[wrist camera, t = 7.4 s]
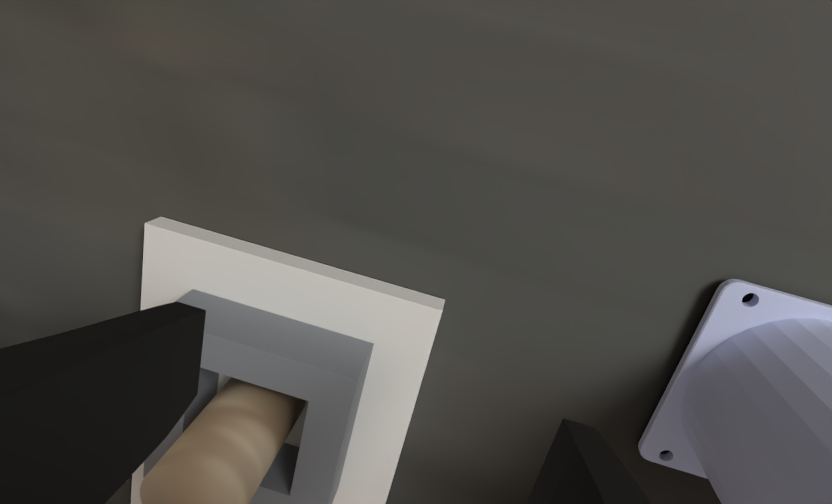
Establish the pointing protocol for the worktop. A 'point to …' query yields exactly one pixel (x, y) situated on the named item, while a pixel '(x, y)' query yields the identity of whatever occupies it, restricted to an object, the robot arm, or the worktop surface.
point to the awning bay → (299, 356)
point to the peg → (224, 448)
